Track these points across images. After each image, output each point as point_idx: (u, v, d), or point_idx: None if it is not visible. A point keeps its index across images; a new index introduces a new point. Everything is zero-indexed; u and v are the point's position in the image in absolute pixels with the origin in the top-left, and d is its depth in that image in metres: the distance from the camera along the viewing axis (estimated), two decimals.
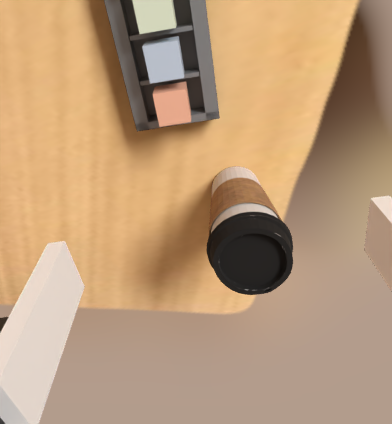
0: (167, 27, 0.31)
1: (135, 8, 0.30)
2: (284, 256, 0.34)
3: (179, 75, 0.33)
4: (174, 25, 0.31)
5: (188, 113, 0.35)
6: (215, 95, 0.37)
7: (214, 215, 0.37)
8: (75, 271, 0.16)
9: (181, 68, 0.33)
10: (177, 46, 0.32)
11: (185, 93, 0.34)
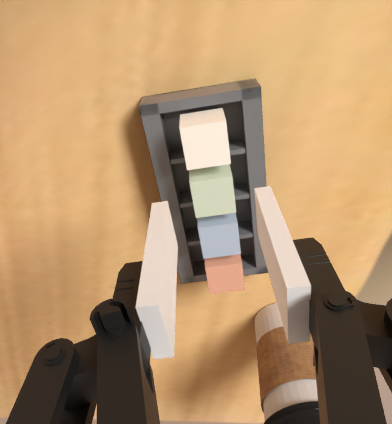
0: (227, 212, 0.28)
1: (193, 196, 0.28)
2: None
3: (236, 251, 0.30)
4: (234, 210, 0.28)
5: (242, 282, 0.32)
6: None
7: (268, 384, 0.34)
8: (173, 230, 0.18)
9: (238, 246, 0.30)
10: (236, 227, 0.29)
11: (241, 266, 0.31)
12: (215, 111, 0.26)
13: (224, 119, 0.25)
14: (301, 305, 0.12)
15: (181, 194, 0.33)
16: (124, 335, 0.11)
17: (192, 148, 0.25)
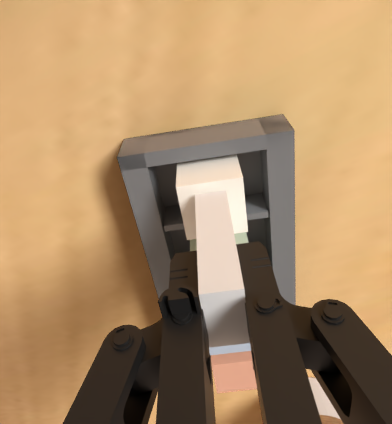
0: None
1: None
2: None
3: None
4: None
5: None
6: None
7: None
8: None
9: None
10: None
11: None
12: (226, 158, 0.19)
13: (240, 174, 0.17)
14: (237, 308, 0.12)
15: None
16: (189, 323, 0.11)
17: (194, 213, 0.18)
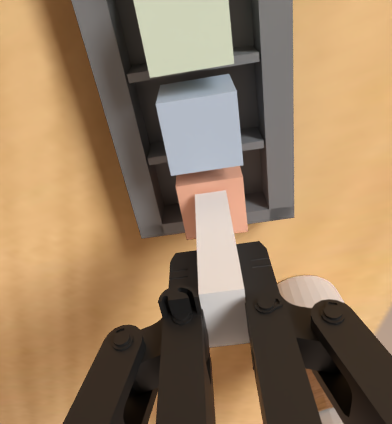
0: (214, 63, 0.13)
1: (140, 19, 0.13)
2: None
3: (233, 160, 0.16)
4: (231, 58, 0.13)
5: (243, 217, 0.18)
6: (291, 181, 0.20)
7: None
8: None
9: (239, 147, 0.15)
10: (234, 103, 0.14)
11: (241, 184, 0.17)
12: None
13: None
14: (237, 308, 0.12)
15: (134, 66, 0.18)
16: (189, 323, 0.11)
17: None
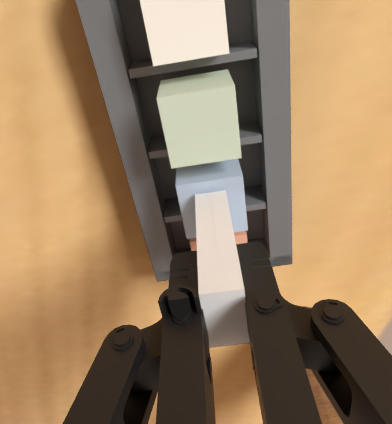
0: (225, 157, 0.16)
1: (165, 127, 0.15)
2: None
3: (240, 227, 0.19)
4: (239, 154, 0.16)
5: None
6: (289, 235, 0.22)
7: None
8: None
9: (244, 217, 0.18)
10: (241, 185, 0.17)
11: (245, 240, 0.20)
12: None
13: None
14: (237, 308, 0.12)
15: (153, 140, 0.21)
16: (189, 323, 0.11)
17: (161, 21, 0.14)
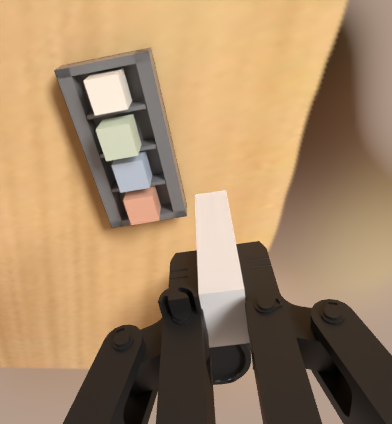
0: (130, 155, 0.35)
1: (100, 142, 0.34)
2: (243, 352, 0.37)
3: (145, 185, 0.38)
4: (136, 153, 0.35)
5: (156, 214, 0.40)
6: (181, 198, 0.41)
7: None
8: None
9: (146, 180, 0.38)
10: (142, 164, 0.37)
11: (152, 199, 0.39)
12: (116, 70, 0.34)
13: (117, 73, 0.32)
14: (237, 308, 0.12)
15: None
16: (189, 323, 0.11)
17: (96, 97, 0.33)
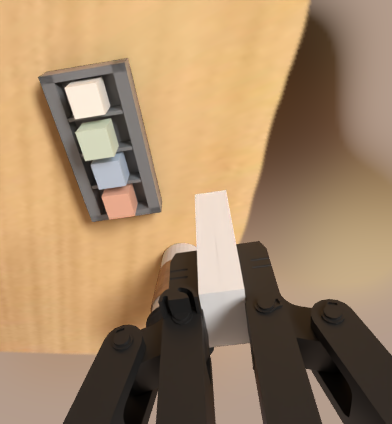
0: (107, 156, 0.38)
1: (80, 143, 0.38)
2: None
3: (122, 184, 0.42)
4: (113, 154, 0.38)
5: (132, 210, 0.44)
6: (156, 195, 0.45)
7: (154, 296, 0.44)
8: None
9: (123, 179, 0.41)
10: (118, 164, 0.40)
11: (128, 196, 0.42)
12: (95, 78, 0.38)
13: (95, 81, 0.36)
14: (237, 308, 0.12)
15: None
16: (189, 323, 0.11)
17: (76, 102, 0.37)
